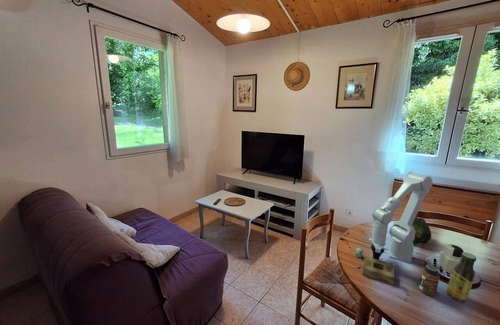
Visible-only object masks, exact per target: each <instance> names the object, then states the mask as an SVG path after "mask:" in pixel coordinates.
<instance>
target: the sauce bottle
mask: <svg viewBox="0 0 500 325" xmlns="http://www.w3.org/2000/svg"><path fill="white" fill-rule="evenodd" d="M476 260H477V256H476V255H474V254H472V253H469V252H467V251H465V252H463V253H462V255H461V260H460V262H459V264H457V265H456V266H455V268H454V269H453V271H452V274H450V277H449V281H448V284H447V287H446V294H447V296H448V297H450V299H453V300H454V301H456V302H460V303H465V302H466V301H467V300H468V297H469V295H470V292H471V289H472V287H473V282H474V278H475V277H476V272H475V270H474V265H475V262H476Z"/></svg>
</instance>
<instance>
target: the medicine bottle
mask: <svg viewBox="0 0 500 325" xmlns="http://www.w3.org/2000/svg"><path fill="white" fill-rule="evenodd" d="M463 252H464V249H463V248H462V247H460V246H457V245H455V244H446V246H445V250H440V252H439V255H438V260H437V264H438V263H439V264H438V265H439V267H440V266H441V267H442V268H441V267H440V268H441V270H442V269H443V270H444V271H445V272H448V273H447V274H450V273H452V271H453V269H454V268H455V266H456V265H457V264H459V262H460V260H461V255H462V253H463ZM443 270H442V271H443ZM444 271H443V272H444ZM445 272H444V273H445Z"/></svg>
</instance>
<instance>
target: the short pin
mask: <svg viewBox="0 0 500 325" xmlns="http://www.w3.org/2000/svg"><path fill="white" fill-rule="evenodd" d="M355 252H356V253H355V257H357V258H358V259H362V257H363V255H364V254H363V252H364V249H363V248H362V247H356V250H355Z"/></svg>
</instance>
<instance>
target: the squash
mask: <svg viewBox="0 0 500 325" xmlns="http://www.w3.org/2000/svg"><path fill="white" fill-rule="evenodd" d="M412 226H413V228H414V229H415V231H416V232H415V238H414V240H413V242H412V243H413V245H425V244H427V243H429V241H430V240H431V239H432V232H431V227H430V226H429V225H428V223H427V221H426V220H425V219H424V218H423V217H415V219H414V221H413V224H412ZM402 228H403V227H402ZM404 229H405V228H404Z"/></svg>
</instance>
